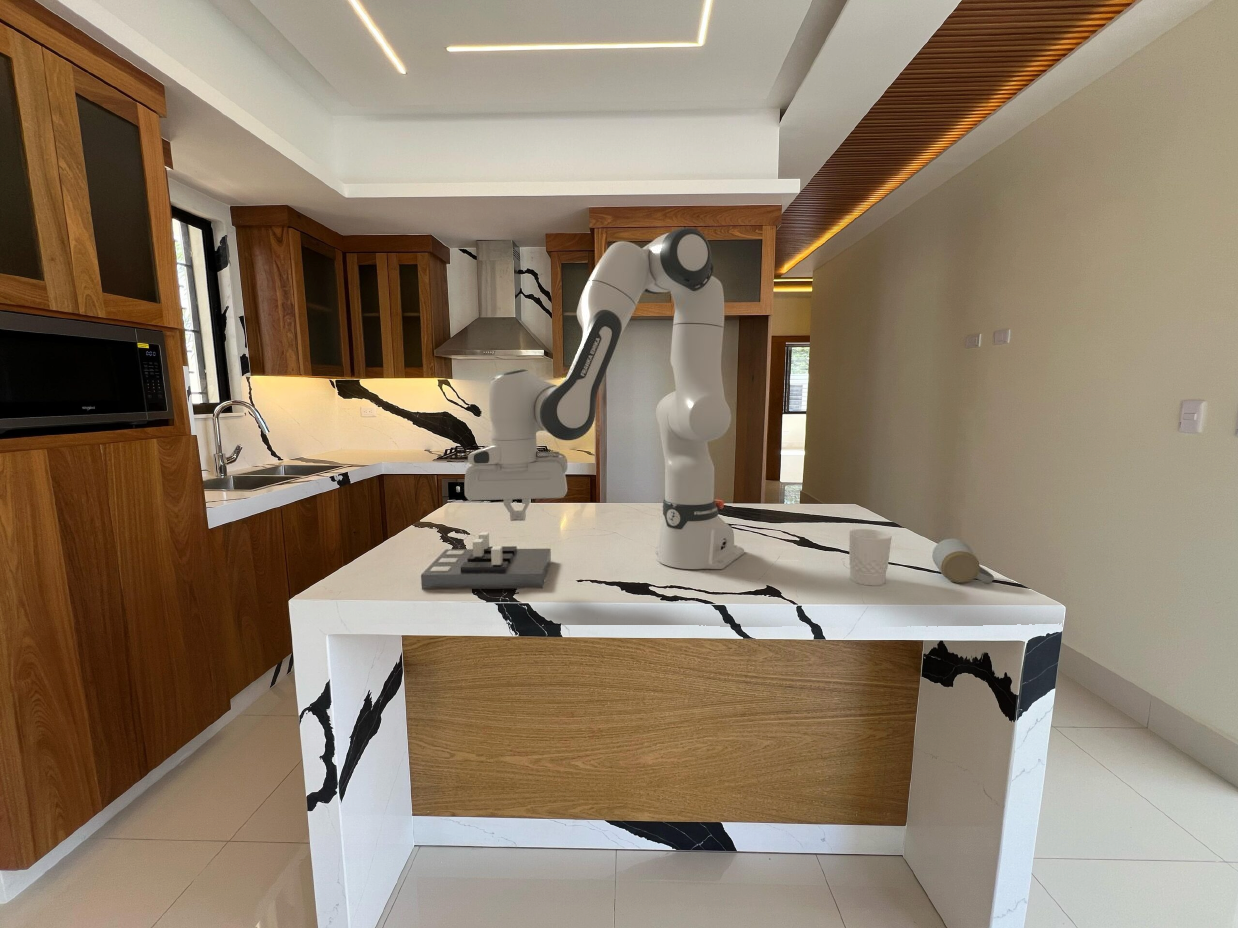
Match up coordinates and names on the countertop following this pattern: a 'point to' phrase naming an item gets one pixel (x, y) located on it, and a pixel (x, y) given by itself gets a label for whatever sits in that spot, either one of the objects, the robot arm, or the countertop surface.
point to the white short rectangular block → (485, 539)
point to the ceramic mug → (959, 562)
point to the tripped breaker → (496, 555)
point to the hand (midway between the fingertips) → (518, 520)
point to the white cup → (869, 556)
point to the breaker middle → (478, 547)
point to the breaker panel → (488, 569)
